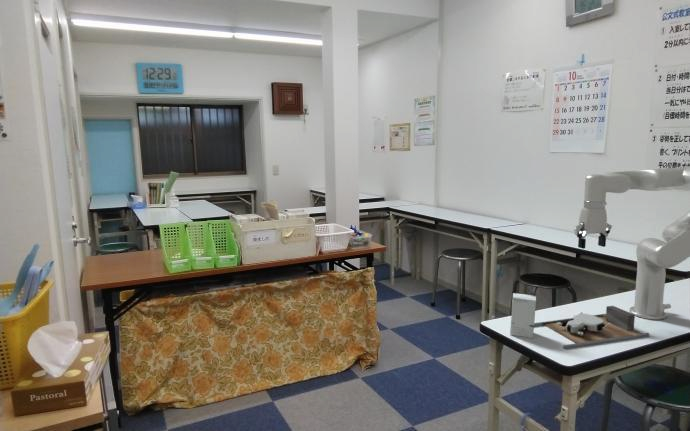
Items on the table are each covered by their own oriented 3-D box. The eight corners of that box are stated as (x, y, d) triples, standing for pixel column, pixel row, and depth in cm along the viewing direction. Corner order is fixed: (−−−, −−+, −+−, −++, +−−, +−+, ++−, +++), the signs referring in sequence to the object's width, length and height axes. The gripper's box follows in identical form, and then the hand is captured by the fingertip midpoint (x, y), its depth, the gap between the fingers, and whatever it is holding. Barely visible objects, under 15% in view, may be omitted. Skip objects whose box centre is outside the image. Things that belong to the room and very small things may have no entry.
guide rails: (605, 316, 181) (605, 313, 180) (648, 336, 161) (649, 333, 161) (527, 326, 172) (528, 323, 172) (564, 349, 153) (564, 346, 153)
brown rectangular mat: (604, 317, 179) (605, 302, 178) (644, 335, 162) (645, 318, 161) (544, 325, 173) (545, 309, 172) (579, 345, 156) (580, 327, 155)
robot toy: (581, 342, 158) (611, 332, 163) (581, 331, 157) (611, 321, 163) (554, 330, 169) (583, 320, 175) (554, 318, 169) (583, 310, 174)
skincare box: (510, 335, 165) (511, 297, 163) (510, 329, 171) (512, 292, 168) (534, 338, 162) (536, 300, 160) (534, 332, 167) (536, 294, 165)
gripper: (604, 203, 183) (602, 243, 186) (569, 205, 179) (566, 246, 182) (620, 205, 176) (616, 247, 179) (583, 207, 172) (580, 250, 175)
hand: (591, 247), depth 180 cm, fingers open, 9 cm apart
